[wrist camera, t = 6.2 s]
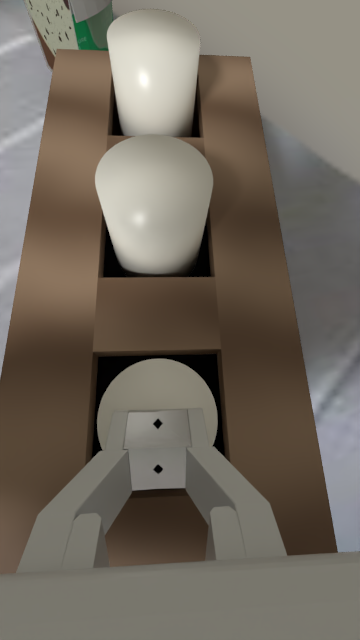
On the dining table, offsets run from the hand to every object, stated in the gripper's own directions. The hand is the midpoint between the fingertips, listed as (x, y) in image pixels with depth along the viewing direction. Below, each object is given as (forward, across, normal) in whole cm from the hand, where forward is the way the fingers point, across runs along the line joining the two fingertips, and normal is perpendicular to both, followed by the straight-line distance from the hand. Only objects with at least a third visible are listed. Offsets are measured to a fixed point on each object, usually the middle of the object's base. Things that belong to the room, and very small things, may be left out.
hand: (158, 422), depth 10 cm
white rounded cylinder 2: (+8, 0, -4) cm, 9 cm away
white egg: (+4, 0, +4) cm, 6 cm away
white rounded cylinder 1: (+14, 0, -10) cm, 17 cm away
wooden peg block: (+13, 0, +1) cm, 13 cm away
